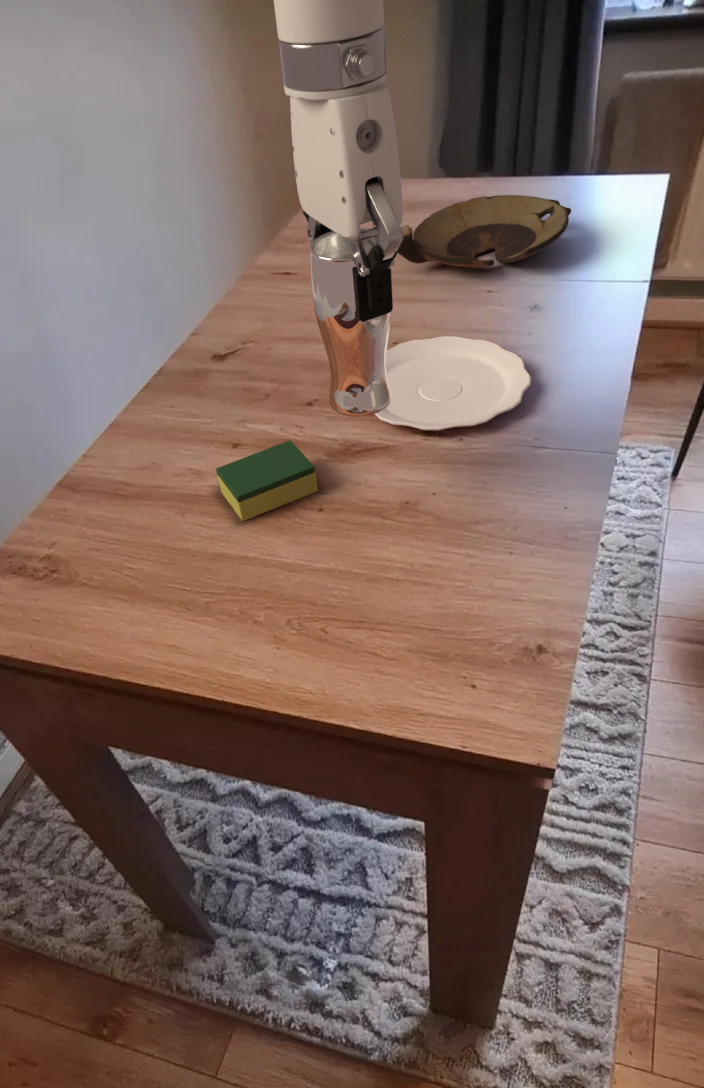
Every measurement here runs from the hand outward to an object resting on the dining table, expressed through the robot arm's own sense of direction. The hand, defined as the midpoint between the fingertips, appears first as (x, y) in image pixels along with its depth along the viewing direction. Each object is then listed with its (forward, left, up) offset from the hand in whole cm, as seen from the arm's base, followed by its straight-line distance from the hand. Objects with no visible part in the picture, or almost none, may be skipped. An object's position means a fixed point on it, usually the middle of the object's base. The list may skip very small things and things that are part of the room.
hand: (352, 298), depth 70 cm
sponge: (+9, -6, -21) cm, 24 cm away
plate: (-17, -12, -21) cm, 30 cm away
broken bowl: (-42, -42, -21) cm, 63 cm away
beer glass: (0, 0, -10) cm, 10 cm away
